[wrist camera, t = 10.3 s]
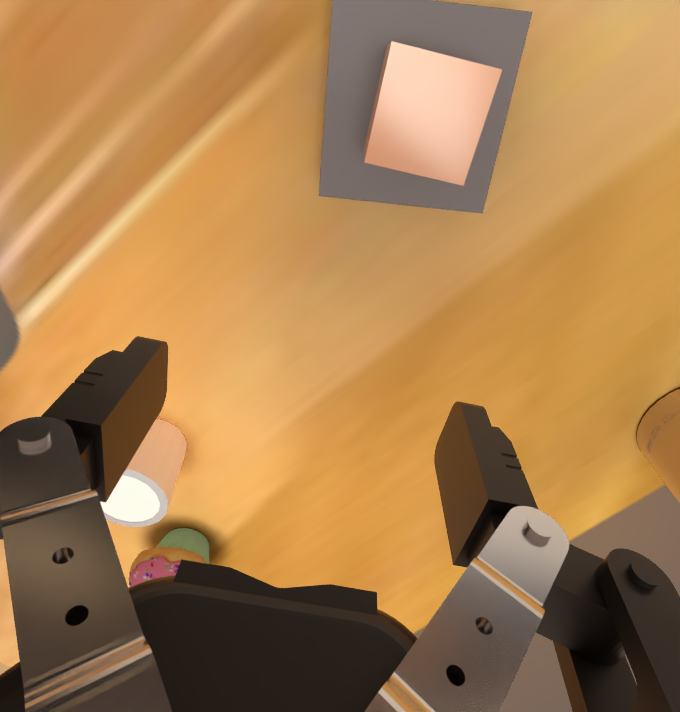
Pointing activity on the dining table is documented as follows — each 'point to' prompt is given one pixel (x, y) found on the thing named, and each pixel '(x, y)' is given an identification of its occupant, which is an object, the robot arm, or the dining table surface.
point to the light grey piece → (148, 478)
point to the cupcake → (170, 555)
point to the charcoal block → (360, 80)
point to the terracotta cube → (428, 113)
